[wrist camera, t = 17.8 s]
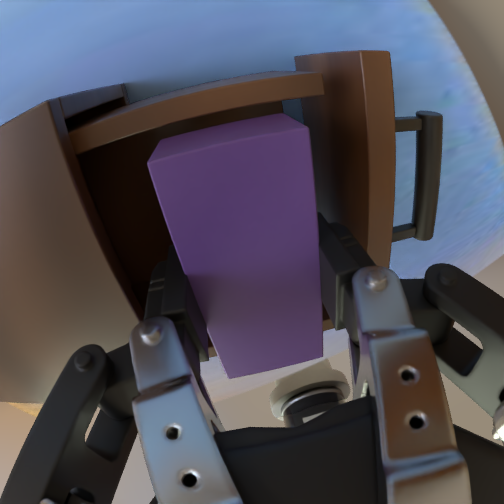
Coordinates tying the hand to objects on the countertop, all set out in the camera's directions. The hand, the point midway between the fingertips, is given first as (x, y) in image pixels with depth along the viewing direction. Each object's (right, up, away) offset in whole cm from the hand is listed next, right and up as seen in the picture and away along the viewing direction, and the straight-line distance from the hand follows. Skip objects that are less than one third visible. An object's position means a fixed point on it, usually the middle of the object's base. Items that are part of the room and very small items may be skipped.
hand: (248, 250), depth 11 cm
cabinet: (-13, +2, +7) cm, 15 cm away
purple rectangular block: (0, 0, 0) cm, 0 cm away
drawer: (0, +4, +6) cm, 8 cm away
